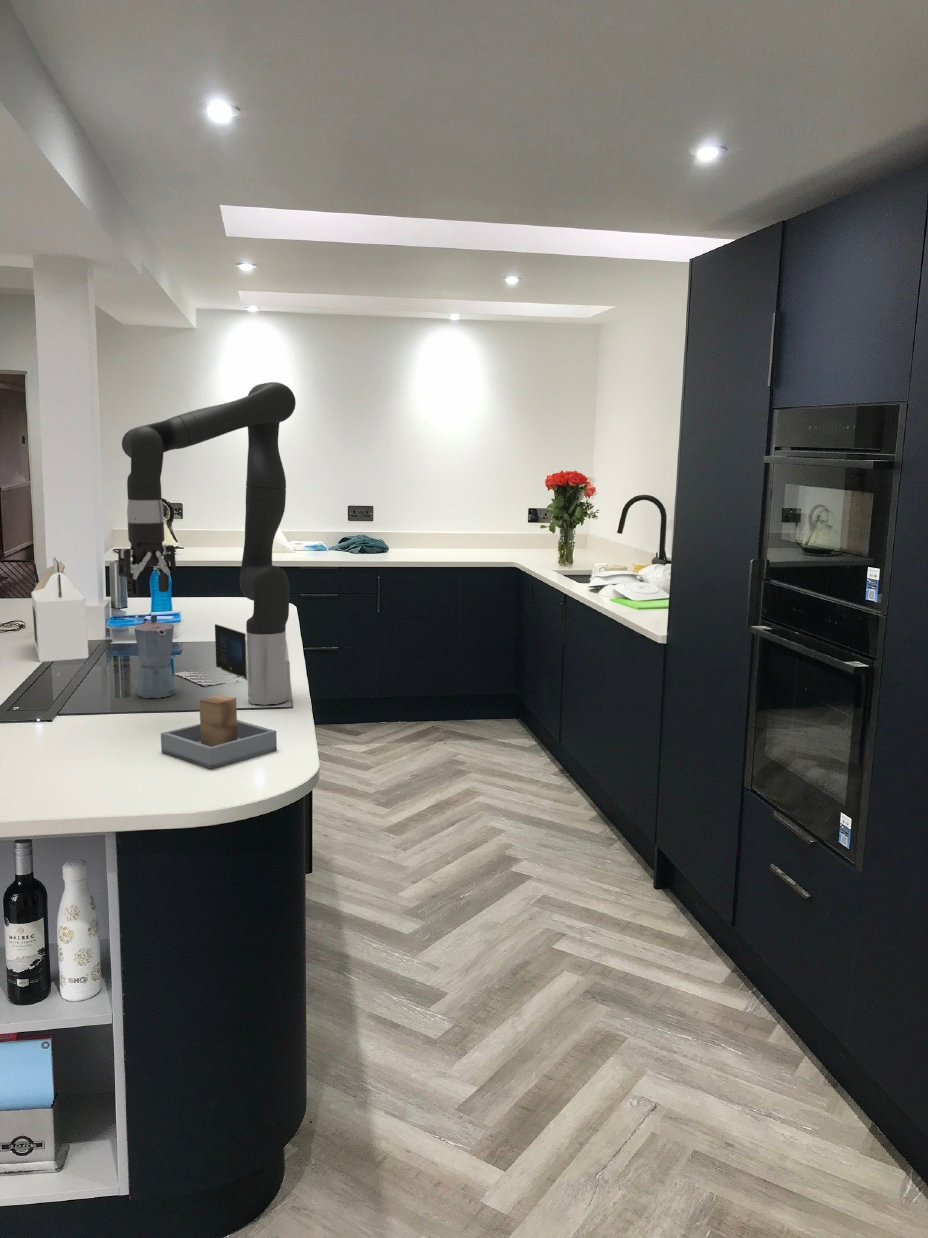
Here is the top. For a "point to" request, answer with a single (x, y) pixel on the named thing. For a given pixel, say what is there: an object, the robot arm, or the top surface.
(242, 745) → the box
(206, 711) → the walnut block
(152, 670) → the moka pot
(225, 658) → the laptop
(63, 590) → the gable box
